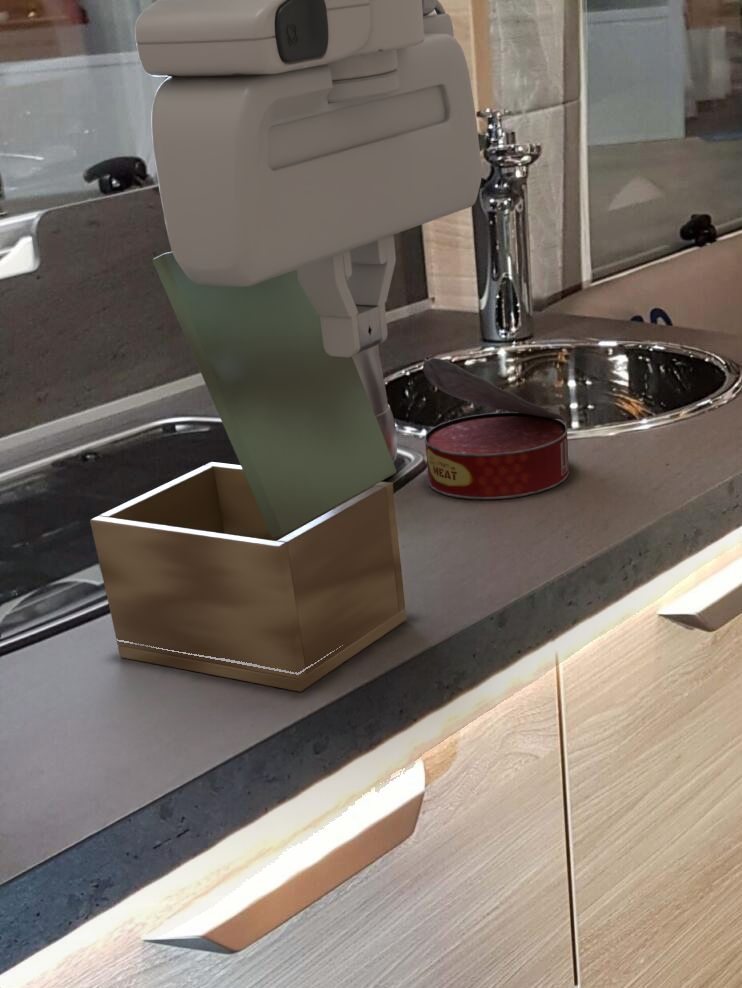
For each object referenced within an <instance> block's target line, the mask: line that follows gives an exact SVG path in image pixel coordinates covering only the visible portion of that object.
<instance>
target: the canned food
mask: <svg viewBox="0 0 742 988" xmlns="http://www.w3.org/2000/svg"><path fill="white" fill-rule="evenodd" d="M422 372H423V374H424V376H425V378H426V380H427V381H428V382H429V383H430V384H431V385H432V386H434V387H435V388H436V389H437V390H439V391H441V392H443V393H444V394H447V395H450V396H452V397H454V398H456V399H458V400H462V401H466V402H471V403H473V404H477V405H480V406H484V407H490V408H495V409H498V410H499V409H500V410H505V411H506V412H505V411H504V412H502V411H501V412H489V413H480V414H479V413H478V414H473V415H472V414H471V415H467V416H462V417H458V418H454V419H451V420H448V421H444V422H442V423H440V424H439V423H438V424H437V425H435V426H434V427H431V429H429V430H428V431H427V432H426V434H424V445H425V453H426V454H425V455H426V465H427V466H426V467H427V477H428V479H427V482H428V483H427V484H428V485H429V486H430V488H431V489H433V490H434V491H435V492H436V493H439V494H442V495H444V496H449V497H453V498H458V499H465V500H481V501H483V500H505V499H512V498H521V497H526V496H530V495H535V494H538V493H542V492H545V491H548V490H551V489H553V488H555V487H557V486H559V485H560V484H562V483H564V482H565V480H566V479H567V478H568V476H569V474H570V469H569V468H570V467H569V445H568V444H569V441H568V427H567V424H566V423H565V422H564V420H566V419H567V417H564V416H562V415H561V414H559V413H556V412H554V411H550V410H548V409H546V408H545V407H543V406H540V405H538V404H535V403H532V402H529V401H527V400H525V399H524V398H522V397H520V396H518V395H517V394H515V393H513V392H510V391H507V390H505V389H503V388H501V387H499V386H497V385H495V384H494V383H492V382H491V381H488V380H486V379H484V378H482V377H479V376H478V375H475V374H473V373H471V372H469V371H467V370H465V369H464V368H462V367H460V366H459V365H457V364H455V363H452V362H450V361H447V360H445V359H441V358H435V357H431V358H429V359H427V358H425V357H424V359H423V367H422ZM508 411H509V412H508Z"/></svg>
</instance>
